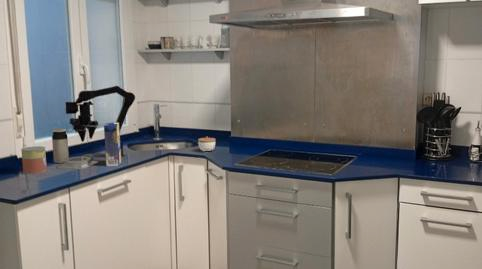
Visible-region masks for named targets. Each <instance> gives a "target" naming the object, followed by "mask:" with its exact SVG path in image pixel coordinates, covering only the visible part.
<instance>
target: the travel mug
mask: <svg viewBox="0 0 482 269" xmlns="http://www.w3.org/2000/svg"><path fill="white" fill-rule="evenodd" d="M51 132H52V136H51V141H52V152H53V153H52V154H53V163H55V164H64V160H65V159H67V158H70V156H69V144H68V143H69V142H68V141H69V140H68V134H67V133H66V132H67V129H66V128H63V129H62V128H57V129H53V130H52V131H51Z"/></svg>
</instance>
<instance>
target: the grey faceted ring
mask: <svg viewBox="0 0 482 269" xmlns="http://www.w3.org/2000/svg"><path fill="white" fill-rule="evenodd" d="M98 163H99V161H97V160H91V158H90V157H82V156H74V157H69V158H67V159H65V160H64V163H61V164H60V165H58V166H56V169H71V170H72V169H75V170H77V169H78V170H86V169H88V168H90V167H91V166H94V165H95V164H98Z"/></svg>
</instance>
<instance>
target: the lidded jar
mask: <svg viewBox="0 0 482 269" xmlns="http://www.w3.org/2000/svg"><path fill="white" fill-rule="evenodd" d="M197 140H198V148H199V149H200V151H201V150H202V151H211V150H212V151H214V150H215V148H216V138H214V137H209V136H205V137H201V138H198V139H197ZM202 151H201V152H202Z"/></svg>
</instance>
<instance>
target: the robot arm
mask: <svg viewBox="0 0 482 269" xmlns="http://www.w3.org/2000/svg"><path fill="white" fill-rule="evenodd" d="M111 94H118V95H120V96H121V97H122V101H121V102H122V104H121V108H120V111H119V112H118V116H117V118H116V121H115V123H119V129H120V131H122V128H123V124H124V122H125V119H126V117H127V114H128V112H129V110H130V108H131V106H132V105H133V103H134V102H135V100H136V96H135V94H134V93H133V92H131V91H127V90H125V89H123V88H121V86H118V85H113V86H109V87H105V88H99V89H94V90H81V91H79V92H78V95H77V96H78V97H77V99H76V100H75V101H65V114H66V115H70V114H71V115H72V114H73V115H74V114H77V113H78V112H79V114H78V115H77V118H74V117H72V118H69V124H70V125H71V126H72V130H73V131H74V132H76V133H77V134H78V136H79V138H80V140H81V142H83V143H84V141H85V138H86V136H87V135H86V133H87V132H88V137H89V139H90V140H91V139H93V136H94V135H95V132H96V130H97V128H98V126H99V122H98V120H92V116H93V114H91V106H94V103H93V102H92V99H95V98H97V97H102V96H108V95H111ZM87 130H88V131H87ZM120 148H121V158H123V157H124V156H125V154H124V142H122V141H121V140H120Z"/></svg>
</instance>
